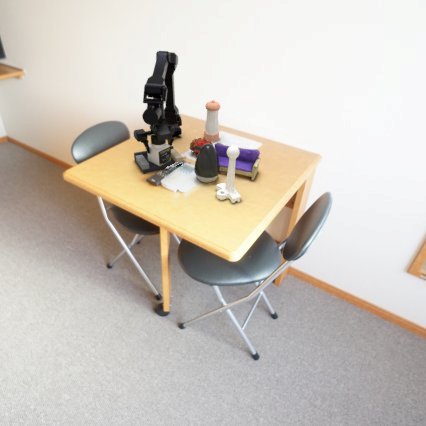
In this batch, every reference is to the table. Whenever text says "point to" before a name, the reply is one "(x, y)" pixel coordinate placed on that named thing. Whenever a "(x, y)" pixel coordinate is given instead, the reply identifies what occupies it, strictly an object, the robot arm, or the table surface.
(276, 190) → the table surface
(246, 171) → the toy sofa
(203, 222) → the table surface
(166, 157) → the medicine bottle
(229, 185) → the joystick
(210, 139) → the pepper shaker
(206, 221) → the table surface
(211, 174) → the dark grey tapered dome
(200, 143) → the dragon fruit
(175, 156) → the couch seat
